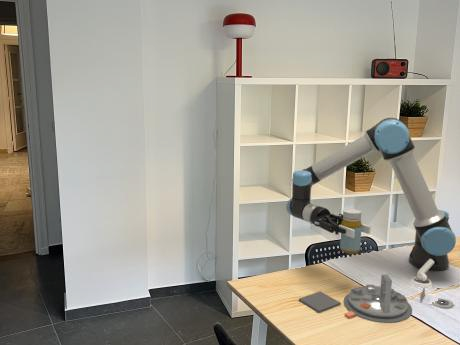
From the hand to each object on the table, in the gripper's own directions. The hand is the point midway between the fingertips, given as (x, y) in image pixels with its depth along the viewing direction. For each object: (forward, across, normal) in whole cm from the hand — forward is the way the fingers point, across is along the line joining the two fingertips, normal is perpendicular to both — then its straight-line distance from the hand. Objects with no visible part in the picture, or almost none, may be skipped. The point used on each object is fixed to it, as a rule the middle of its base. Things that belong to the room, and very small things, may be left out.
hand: (361, 232), depth 155 cm
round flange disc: (+10, +1, -23) cm, 25 cm away
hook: (+7, -26, -23) cm, 35 cm away
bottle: (-5, 0, -9) cm, 10 cm away
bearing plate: (+10, +1, -23) cm, 25 cm away
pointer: (+10, +14, -23) cm, 29 cm away
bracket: (+19, -18, -23) cm, 35 cm away
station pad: (-2, +16, -23) cm, 28 cm away
